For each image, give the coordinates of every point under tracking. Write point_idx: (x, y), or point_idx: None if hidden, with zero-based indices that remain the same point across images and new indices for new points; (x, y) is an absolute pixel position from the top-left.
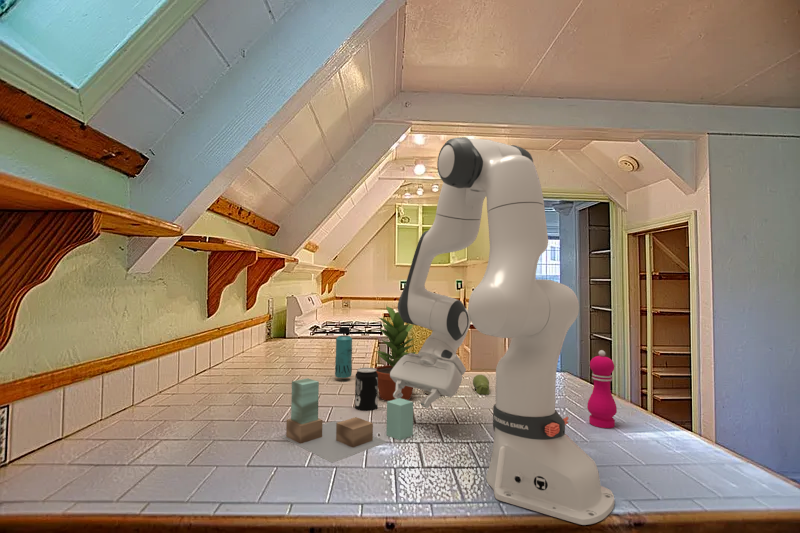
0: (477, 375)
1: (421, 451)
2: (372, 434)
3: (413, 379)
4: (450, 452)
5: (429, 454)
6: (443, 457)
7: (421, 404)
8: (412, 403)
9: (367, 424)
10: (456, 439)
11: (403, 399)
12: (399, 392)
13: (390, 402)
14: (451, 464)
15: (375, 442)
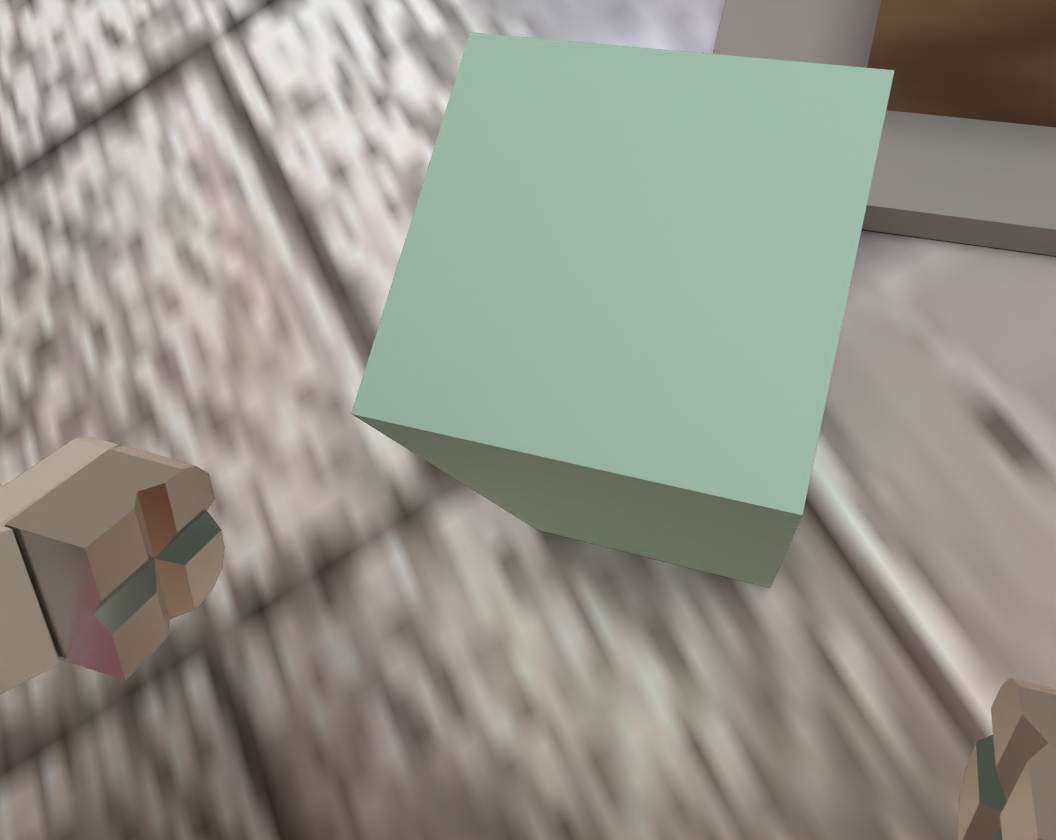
0: None
1: (323, 294)
2: (869, 57)
3: None
4: (79, 429)
5: (234, 279)
6: (109, 294)
7: (198, 477)
8: (371, 396)
9: None
10: (97, 806)
11: (643, 452)
12: (1020, 803)
13: (780, 70)
14: (23, 214)
15: None
